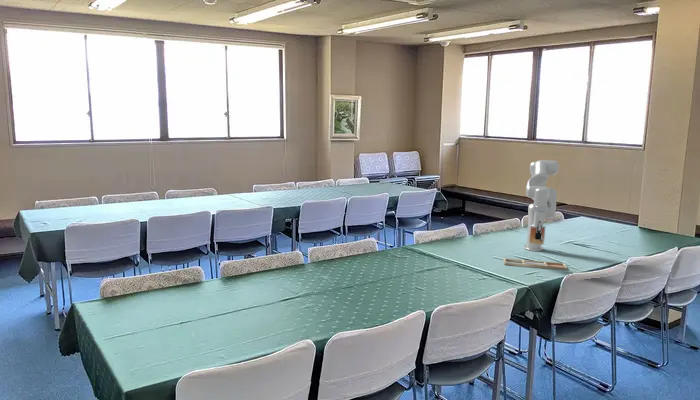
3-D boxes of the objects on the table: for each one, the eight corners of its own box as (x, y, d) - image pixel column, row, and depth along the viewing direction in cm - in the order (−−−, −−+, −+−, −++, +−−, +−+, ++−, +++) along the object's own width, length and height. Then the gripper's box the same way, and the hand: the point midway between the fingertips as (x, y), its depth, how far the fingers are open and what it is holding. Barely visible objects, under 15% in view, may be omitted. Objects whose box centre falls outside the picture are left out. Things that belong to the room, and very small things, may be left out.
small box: (529, 242, 319) (530, 225, 317) (530, 241, 324) (532, 224, 322) (543, 244, 315) (544, 227, 314) (544, 243, 320) (545, 226, 318)
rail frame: (503, 260, 330) (503, 258, 330) (564, 265, 323) (564, 263, 323) (504, 264, 321) (504, 262, 321) (567, 270, 313) (567, 267, 313)
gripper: (532, 205, 325) (529, 234, 328) (534, 211, 309) (532, 240, 312) (545, 206, 323) (542, 235, 326) (548, 212, 307) (545, 241, 310)
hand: (537, 237), depth 319 cm, fingers closed on small box, 6 cm apart
